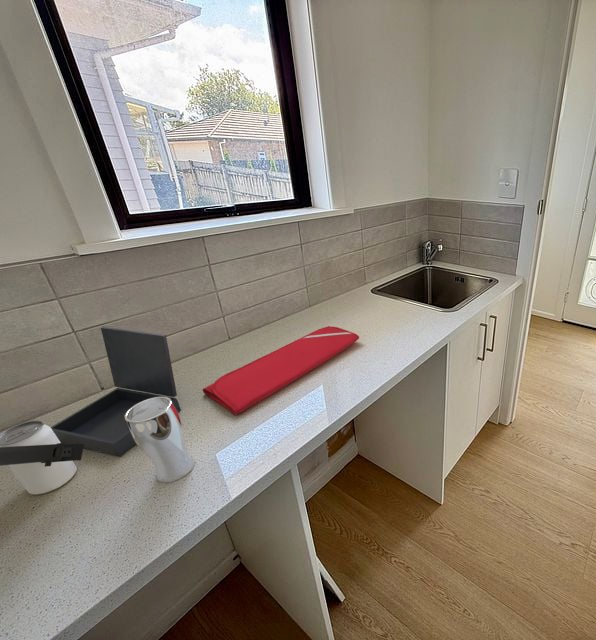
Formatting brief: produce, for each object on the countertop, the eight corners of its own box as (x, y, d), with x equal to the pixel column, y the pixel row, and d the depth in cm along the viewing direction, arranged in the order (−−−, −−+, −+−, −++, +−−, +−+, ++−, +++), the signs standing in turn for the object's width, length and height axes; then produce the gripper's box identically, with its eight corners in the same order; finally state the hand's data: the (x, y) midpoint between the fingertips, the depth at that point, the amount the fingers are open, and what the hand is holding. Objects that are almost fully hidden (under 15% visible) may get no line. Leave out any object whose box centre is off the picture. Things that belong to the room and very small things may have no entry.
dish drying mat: (202, 393, 85) (198, 381, 83) (327, 331, 115) (326, 321, 114) (236, 418, 77) (232, 405, 75) (361, 344, 108) (360, 334, 106)
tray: (120, 457, 67) (113, 443, 65) (54, 442, 70) (46, 429, 69) (181, 410, 79) (176, 398, 78) (123, 399, 83) (117, 387, 81)
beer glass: (160, 460, 66) (131, 400, 60) (201, 450, 68) (177, 392, 62) (148, 489, 60) (115, 427, 54) (193, 478, 63) (166, 416, 56)
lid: (162, 336, 73) (166, 335, 74) (100, 327, 76) (104, 326, 77) (174, 397, 77) (177, 395, 78) (114, 386, 80) (118, 385, 81)
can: (83, 475, 63) (52, 427, 58) (34, 502, 58) (-5, 453, 53) (71, 460, 66) (40, 413, 61) (23, 485, 61) (-14, 436, 56)
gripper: (-295, 518, 36) (-55, 489, 56) (-26, 488, 40) (111, 470, 60) (-258, 445, 39) (-40, 442, 59) (-7, 422, 42) (119, 427, 62)
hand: (37, 456), depth 59 cm, fingers open, 13 cm apart
